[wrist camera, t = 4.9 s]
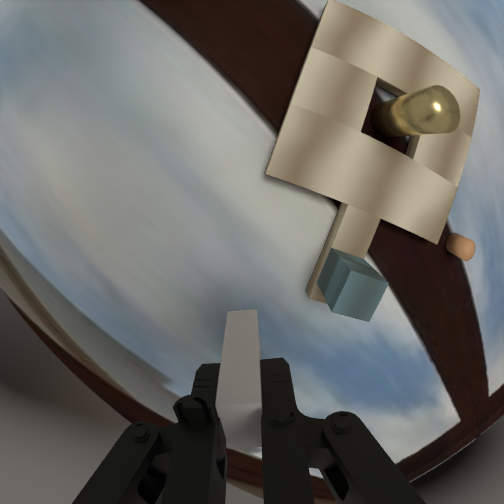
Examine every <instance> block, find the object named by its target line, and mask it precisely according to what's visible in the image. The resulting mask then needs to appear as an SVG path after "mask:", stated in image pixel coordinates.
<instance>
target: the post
mask: <svg viewBox="0 0 504 504" xmlns="http://www.w3.org/2000/svg"><path fill="white" fill-rule="evenodd" d="M371 120H372V124H373V126H374V128H375V130H376V131H377V132H378V133H379V134H381V135H382V136H384V137H400V136H411V135H425V134H442V133H451V132H453V131H455V130H456V129H457V127H458V125H459V123H460V108H459V105H458V102H457V100H456V98H455V97H454V95H453V94H452V93H451V92H450V91H449V90H448V89H447V88H445V87H443V86H440V85H433V86H430V87H427V88H424V89H420V90H417V91H414V92H411V93H408V94H405V95H402V96H400V97H397V98H394V99H391V100H388V101H385V102H383V103H380V104H378V105H376V106H375V107H374V109H373V111H372V114H371Z"/></svg>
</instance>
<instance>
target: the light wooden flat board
mask: <svg viewBox="0 0 504 504" xmlns="http://www.w3.org/2000/svg"><path fill="white" fill-rule="evenodd" d="M375 84H376V85H378V86H380V87H382V88H384V89H386V90H387V91H389V92H391V93H393V94H395V95H396V96H398V97H400V96H402V95H405V94H408V93H411V92H414V91H417V90H420V89H424V88H427V87H430V86H433V85H440V86H443V87H445V88H447V89H448V90H449V91H450V92H451V93H452V94H453V95H454V97H455V98H456V100H457V102H458V105H459V108H460V123H459V125H458V127H457V129H456V130H455V131H453V132H451V133H442V134H425V135H411V137H410V140H409V144H408V147H407V150H406V153H405V155H404V154H402V153H401V152H399V151H397V150H395V149H393V148H391V147H389V146H387V145H385V144H384V143H382V142H380V141H378V140H376V139H374V138H372V137H370V136H368V135H365V134H363V133H361V129H362V126H363V123H364V120H365V116H366V113H367V110H368V107H369V104H370V100H371V97H372V94H373V90H374V87H375ZM479 94H480V89H479V88H478V87H477V86H475V85H474V84H473V83H472V82H471V81H469V80H468V79H467V78H466V77H465V76H463V75H462V74H461V73H460V72H458V71H457V70H456V69H454V68H453V67H452V66H450V65H449V64H448V63H446V62H445V61H444V60H442V59H441V58H439V57H438V56H437V55H435V54H434V53H432V52H431V51H429V50H428V49H426V48H425V47H423V46H422V45H420V44H419V43H417V42H415V41H414V40H412V39H411V38H409V37H407V36H406V35H404V34H402V33H400V32H399V31H397V30H395V29H393V28H392V27H390V26H388V25H386V24H384V23H382V22H380V21H378V20H377V19H375V18H373V17H371V16H368V15H366V14H364V13H362V12H360V11H358V10H356V9H353V8H351V7H349V6H347V5H344V4H342V3H339V2H337V1H335V0H328V1H327V3H326V5H325V7H324V10H323V12H322V15H321V18H320V20H319V23H318V26H317V28H316V31H315V34H314V37H313V39H312V42H311V45H310V47H309V50H308V53H307V56H306V58H305V61H304V64H303V67H302V69H301V72H300V75H299V78H298V80H297V83H296V86H295V89H294V91H293V94H292V97H291V100H290V103H289V105H288V108H287V111H286V114H285V117H284V119H283V122H282V125H281V128H280V131H279V133H278V136H277V139H276V142H275V145H274V148H273V151H272V153H271V156H270V159H269V162H268V165H267V168H266V171H265V174H267V175H270V176H273V177H276V178H279V179H282V180H284V181H287V182H290V183H293V184H296V185H298V186H301V187H304V188H307V189H309V190H312V191H315V192H317V193H320V194H322V195H325V196H328V197H330V198H333V199H335V200H338V201H340V202H341V205H340V208H339V210H338V213H337V216H336V218H335V221H334V223H333V226H332V228H331V231H330V233H329V236H328V238H327V241H326V243H325V246H324V248H323V251H322V253H321V255H320V258H319V260H318V263H317V265H316V267H315V270H314V272H313V275H312V277H311V279H310V281H309V284H308V286H307V288H306V292H307V294H308V297H309V299H313V300H316V301H320V302H323V303H327V304H328V306H329V308H330V310H331V312H334V313H337V314H341V315H345V316H349V317H352V318H356V319H360V320H364V321H368V322H369V321H370V319H371V317H372V315H373V313H374V312H375V310H376V308H377V306H378V304H379V302H380V300H381V298H382V296H383V294H384V292H385V290H386V288H387V286H388V284H389V283H388V282H387V281H386V280H385V279H384V278H383V277H382V276H381V275H380V274H379V273H378V272H377V271H376V270H375V269H374V268H373V267H372V266H371V265H370V264H369V263H367V262H366V261H365V260H364V257H365V255H366V253H367V251H368V248H369V246H370V243H371V241H372V239H373V236H374V234H375V231H376V229H377V226H378V224H379V221H380V219H383V220H385V221H388V222H390V223H392V224H394V225H397V226H399V227H401V228H403V229H405V230H408V231H410V232H412V233H414V234H416V235H418V236H420V237H423V238H425V239H427V240H429V241H431V242H433V243H435V244H437V243H438V241H439V238H440V236H441V233H442V231H443V228H444V226H445V223H446V220H447V218H448V215H449V212H450V209H451V206H452V204H453V201H454V198H455V195H456V192H457V188H458V185H459V182H460V179H461V175H462V172H463V168H464V165H465V161H466V157H467V154H468V150H469V145H470V141H471V137H472V132H473V128H474V123H475V118H476V112H477V107H478V101H479Z"/></svg>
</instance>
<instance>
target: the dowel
mask: <svg viewBox="0 0 504 504" xmlns="http://www.w3.org/2000/svg"><path fill="white" fill-rule="evenodd" d="M446 248H447V250H448V251H449V252H450V253H452V254H454V255H456V256H457V257H459V258H461V259H463V260H464V261H469V260H470V259H471V258H472V257H473V255H474V253H475V243H474V242H473V241H472V240H470V239H468V238H466V237H464V236H462V235H459V234H457V233H452V234H450V235H449V236H448V238H447V240H446Z"/></svg>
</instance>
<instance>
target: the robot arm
mask: <svg viewBox="0 0 504 504" xmlns="http://www.w3.org/2000/svg"><path fill="white" fill-rule="evenodd" d="M173 409H174V412H175V414H176V417H177V419H178V421H179V422H178V423H176V424H174V425H170V426H166V427H161V428H156V427H155V426H154V424H152V423H150V422H144V421H141V422H135V423H133V424H131V425H130V426H129V427H128V428H126V429H125V431H124V432H123V434H122V435H121V436H120V438H119V439H118V441H117V442H116V443H115V445H114V446H113V447H112V449H111V450H110V452H109V453H108V454H107V456H106V457H105V459H104V460H103V461H102V463H101V464H100V465H99V467H98V468H97V470H96V471H95V472H94V474H93V475H92V477H91V478H90V479H89V481H88V482H87V483H86V485H85V486H84V488H83V489H82V490H81V492H80V493H79V494H78V496H77V497H76V499H75V500H74V501H73V503H72V504H225V496H226V495H225V494H226V477H227V455H226V452H225V451H226V444H227V448H253V447H262V466H263V493H264V504H314V498H313V491H312V485H311V479H310V473H309V468H318V469H319V470H320V472H321V474H322V476H323V477H324V479H325V481H326V483H327V485H328V486H329V488H330V490H331V492H332V494H333V495H334V497H335V499H336V501H337V502H338V504H426V503H425V502H424V501H423V499H422V498H421V497H420V495H419V494H418V493H417V492H416V490H415V489H414V488H413V487H412V485H411V484H410V483H409V482H408V480H407V479H406V478H405V476H404V475H403V474H402V473H401V471H400V470H399V469H398V467H397V466H396V465H395V464H394V462H393V461H392V460H391V458H390V457H389V456H388V455H387V453H386V452H385V451H384V449H383V448H382V447H381V446H380V444H379V443H378V442H377V440H376V439H375V438H374V436H373V435H372V434H371V433H370V431H369V430H368V429H367V427H366V426H365V425H364V423H363V422H362V421H361V419H360V418H359V417H358V416H356V415H355V414H353V413H350V412H345V411H340V412H335V413H332V414H331V415H329V416H327V418H326V419H317V418H311V417H308V416H305V415H303V414H302V413H301V412H300V411H299V410H298V409H297V406H296V401H295V395H294V390H293V384H292V379H291V374H290V368H289V364H288V363H287V362H286V361H285V359H284V358H274V359H263V360H262V359H261V346H260V336H259V327H258V317H257V309H252V310H241V311H228V312H227V319H226V327H225V334H224V341H223V349H222V356H221V363H212V364H202V365H201V366H200V367H199V369H198V370H197V371H196V374H195V379H194V383H193V388H192V392H191V395H187V396H184V397H182V398H180V399H179V400H178V401H176V402H175V404H174V406H173Z"/></svg>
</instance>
